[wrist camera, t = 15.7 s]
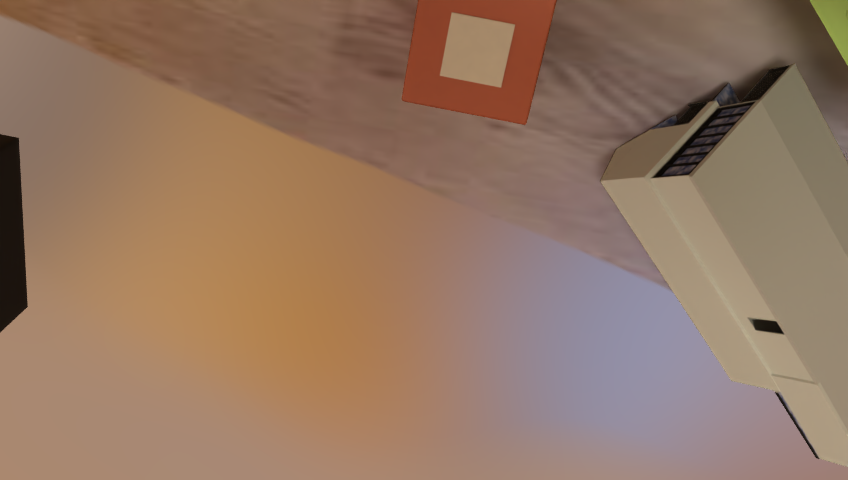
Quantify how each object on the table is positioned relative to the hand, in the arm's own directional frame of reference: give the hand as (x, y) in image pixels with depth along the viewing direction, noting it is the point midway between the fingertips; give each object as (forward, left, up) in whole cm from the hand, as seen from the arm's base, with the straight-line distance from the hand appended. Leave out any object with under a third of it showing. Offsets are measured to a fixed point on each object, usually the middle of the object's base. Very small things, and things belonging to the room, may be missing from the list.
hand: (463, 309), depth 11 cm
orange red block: (0, 0, -27) cm, 27 cm away
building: (+17, -8, -21) cm, 29 cm away
